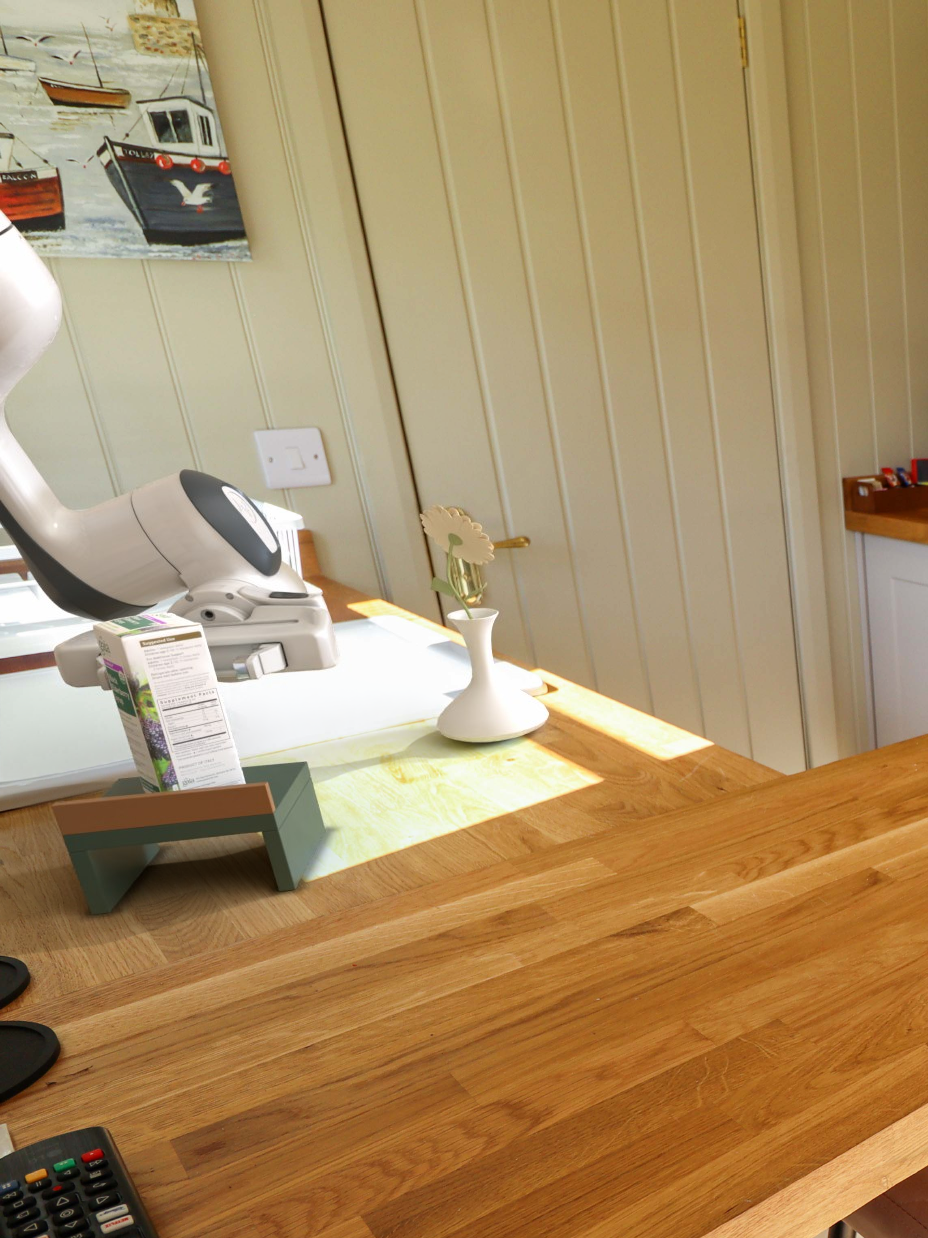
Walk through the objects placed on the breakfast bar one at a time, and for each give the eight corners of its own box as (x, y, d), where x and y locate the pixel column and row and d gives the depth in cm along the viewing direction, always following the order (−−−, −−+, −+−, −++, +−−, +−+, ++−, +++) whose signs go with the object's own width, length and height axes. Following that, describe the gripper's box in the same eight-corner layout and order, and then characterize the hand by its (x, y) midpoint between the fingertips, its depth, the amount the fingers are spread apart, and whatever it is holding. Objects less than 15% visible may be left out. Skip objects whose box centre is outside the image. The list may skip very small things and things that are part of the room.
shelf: (91, 915, 92) (50, 805, 88) (143, 851, 102) (109, 751, 98) (295, 890, 96) (265, 785, 92) (326, 831, 106) (300, 734, 102)
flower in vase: (570, 732, 131) (532, 508, 121) (468, 759, 123) (419, 522, 113) (513, 706, 138) (474, 493, 128) (414, 730, 130) (363, 505, 120)
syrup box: (141, 793, 96) (84, 623, 90) (221, 772, 101) (172, 608, 95) (171, 810, 93) (114, 635, 87) (252, 787, 98) (203, 620, 92)
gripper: (79, 606, 103) (10, 649, 91) (341, 592, 110) (308, 630, 98) (102, 674, 106) (38, 724, 94) (357, 656, 112) (326, 700, 100)
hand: (178, 676), depth 96 cm, fingers open, 8 cm apart
